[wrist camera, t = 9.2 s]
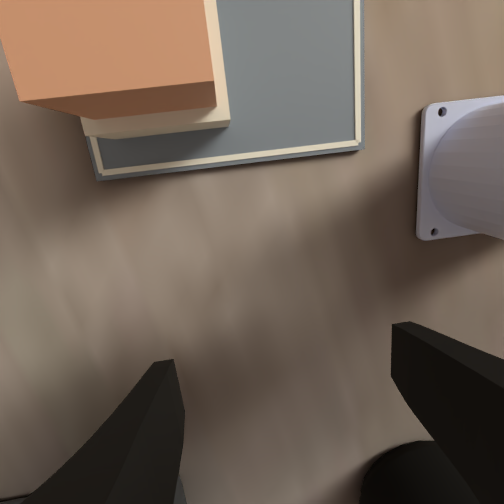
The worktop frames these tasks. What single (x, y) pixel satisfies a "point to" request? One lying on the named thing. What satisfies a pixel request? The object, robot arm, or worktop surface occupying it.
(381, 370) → the worktop surface
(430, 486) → the coffee jar
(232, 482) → the worktop surface
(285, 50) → the board
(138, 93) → the terracotta block
